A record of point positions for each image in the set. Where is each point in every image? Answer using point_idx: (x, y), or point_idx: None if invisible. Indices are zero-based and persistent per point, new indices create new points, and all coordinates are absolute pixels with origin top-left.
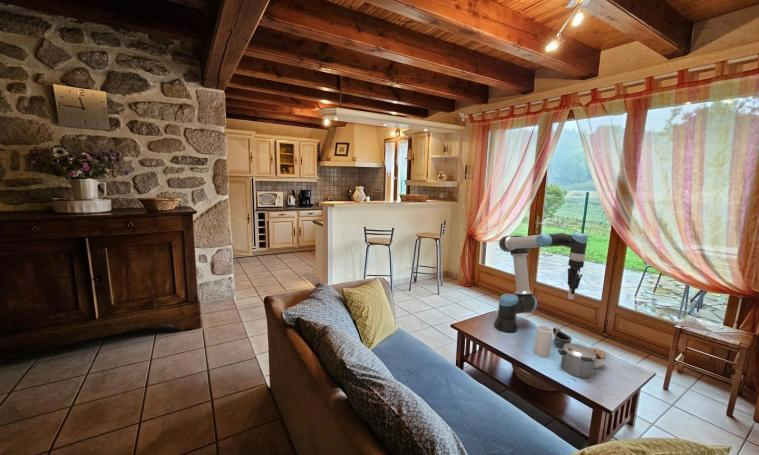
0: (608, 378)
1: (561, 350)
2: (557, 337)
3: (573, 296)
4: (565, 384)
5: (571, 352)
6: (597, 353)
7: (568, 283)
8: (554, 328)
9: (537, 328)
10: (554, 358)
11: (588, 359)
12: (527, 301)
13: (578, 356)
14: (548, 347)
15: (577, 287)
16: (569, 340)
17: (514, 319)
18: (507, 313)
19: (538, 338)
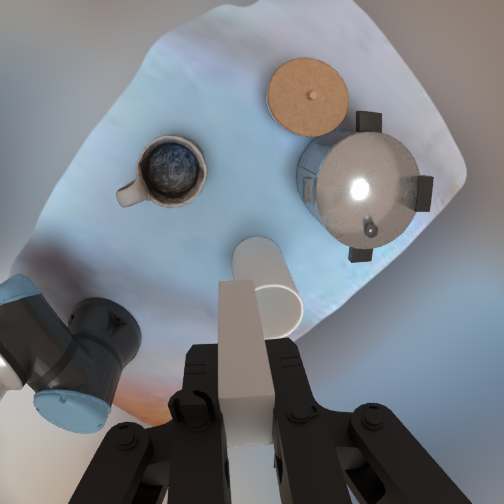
0: (369, 95)
1: (357, 252)
2: (186, 201)
3: (256, 306)
4: (409, 241)
5: (389, 232)
6: (321, 91)
7: (164, 491)
8: (129, 205)
9: (267, 338)
10: (282, 225)
11: (428, 192)
12: (32, 343)
13: (412, 218)
14: (285, 263)
15: (401, 432)
16: (202, 155)
17: (106, 342)
18: (116, 383)
19: (277, 311)
